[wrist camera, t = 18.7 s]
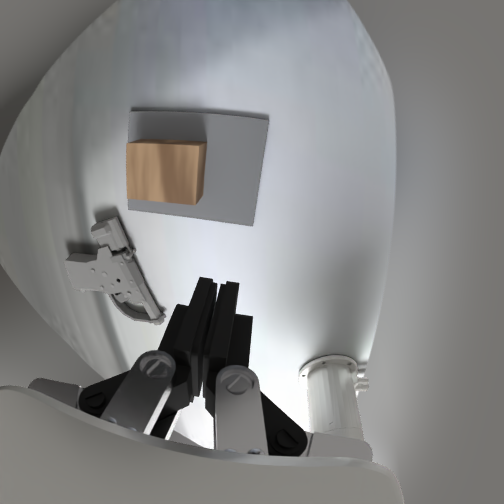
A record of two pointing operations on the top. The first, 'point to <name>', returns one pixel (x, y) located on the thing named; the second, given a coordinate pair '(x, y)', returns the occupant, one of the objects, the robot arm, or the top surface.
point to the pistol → (113, 272)
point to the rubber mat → (210, 161)
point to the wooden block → (166, 170)
